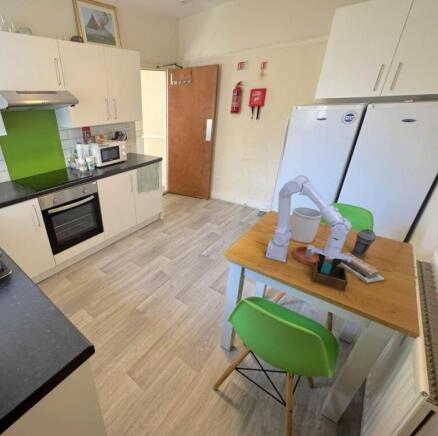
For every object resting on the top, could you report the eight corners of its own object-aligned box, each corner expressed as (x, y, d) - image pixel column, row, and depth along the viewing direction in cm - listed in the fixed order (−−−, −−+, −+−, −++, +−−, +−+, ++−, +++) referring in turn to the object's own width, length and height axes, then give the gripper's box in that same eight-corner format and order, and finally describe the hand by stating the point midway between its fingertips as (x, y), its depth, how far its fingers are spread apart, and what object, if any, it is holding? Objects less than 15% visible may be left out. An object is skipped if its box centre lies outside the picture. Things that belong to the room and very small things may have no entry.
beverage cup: (363, 253, 128) (379, 220, 119) (368, 260, 122) (385, 227, 113) (347, 250, 131) (361, 218, 122) (350, 257, 125) (365, 224, 116)
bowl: (291, 261, 124) (293, 256, 122) (293, 248, 134) (295, 243, 133) (324, 270, 117) (326, 265, 116) (324, 255, 127) (325, 251, 126)
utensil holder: (287, 240, 141) (294, 214, 133) (285, 229, 153) (291, 204, 145) (316, 245, 136) (326, 218, 128) (311, 233, 148) (320, 207, 140)
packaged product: (334, 252, 121) (350, 250, 123) (331, 260, 124) (347, 257, 125) (370, 275, 106) (388, 272, 107) (366, 284, 108) (383, 280, 110)
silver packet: (305, 256, 127) (307, 248, 124) (305, 252, 130) (307, 244, 128) (312, 258, 125) (314, 250, 123) (312, 253, 128) (315, 246, 126)
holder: (312, 282, 110) (316, 273, 107) (313, 268, 118) (316, 259, 116) (343, 291, 104) (347, 282, 102) (341, 276, 113) (345, 267, 110)
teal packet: (320, 272, 111) (323, 263, 109) (320, 266, 115) (323, 258, 113) (328, 274, 110) (332, 265, 108) (328, 268, 113) (331, 260, 111)
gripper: (315, 244, 106) (306, 268, 112) (356, 254, 99) (344, 279, 105) (315, 237, 111) (307, 260, 118) (354, 246, 104) (343, 270, 111)
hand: (324, 268), depth 112 cm, fingers closed on teal packet, 3 cm apart
